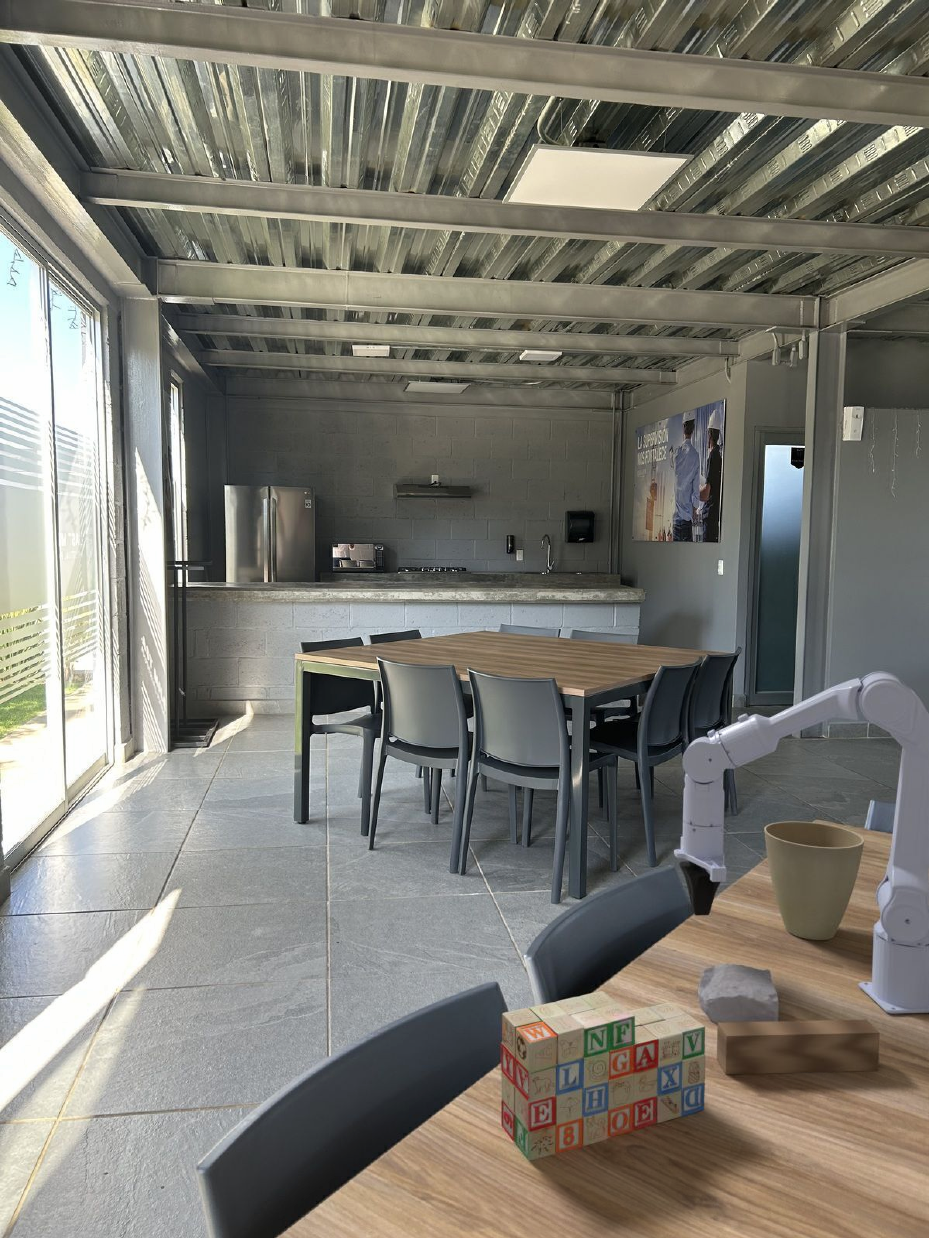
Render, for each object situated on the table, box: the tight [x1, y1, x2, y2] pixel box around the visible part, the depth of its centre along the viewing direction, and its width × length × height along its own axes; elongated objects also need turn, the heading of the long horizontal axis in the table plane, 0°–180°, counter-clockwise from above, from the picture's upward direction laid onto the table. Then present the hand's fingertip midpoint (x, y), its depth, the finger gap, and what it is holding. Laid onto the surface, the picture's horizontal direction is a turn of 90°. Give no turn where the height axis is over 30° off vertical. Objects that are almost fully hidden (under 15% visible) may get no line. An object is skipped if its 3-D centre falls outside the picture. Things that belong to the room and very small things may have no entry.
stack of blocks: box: [500, 990, 707, 1161], centre depth 93 cm, size 21×6×12 cm, turn 113°
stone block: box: [697, 963, 780, 1024], centre depth 118 cm, size 12×5×10 cm
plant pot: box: [763, 820, 865, 941], centre depth 142 cm, size 15×15×16 cm
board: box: [716, 1019, 881, 1075], centre depth 103 cm, size 18×3×4 cm, turn 93°
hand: (700, 913), depth 129 cm, fingers closed
